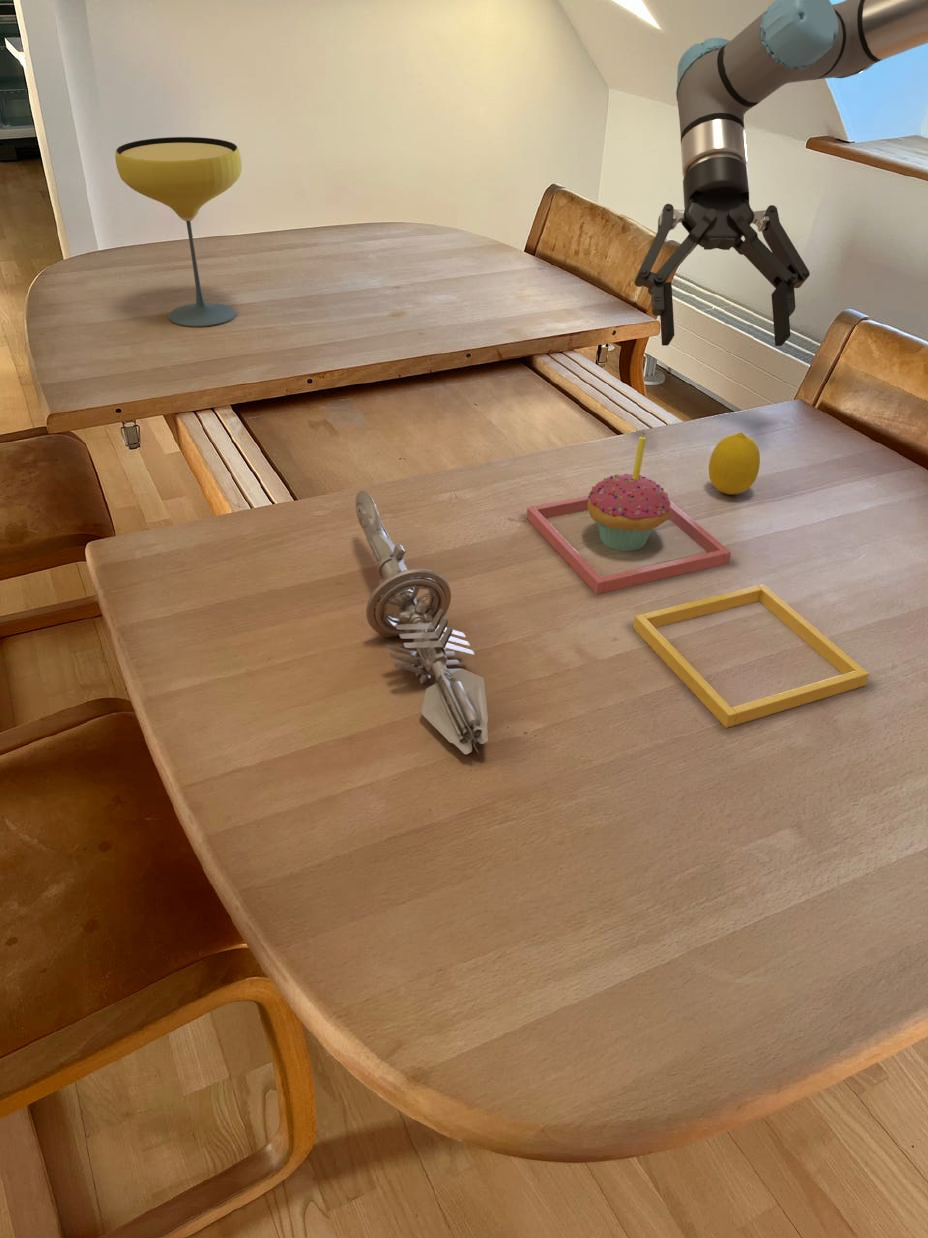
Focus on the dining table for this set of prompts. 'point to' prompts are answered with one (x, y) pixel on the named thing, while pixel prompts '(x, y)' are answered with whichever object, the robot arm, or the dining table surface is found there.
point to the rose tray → (634, 577)
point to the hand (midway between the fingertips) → (725, 340)
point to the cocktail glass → (183, 195)
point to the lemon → (734, 464)
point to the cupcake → (628, 507)
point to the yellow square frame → (768, 705)
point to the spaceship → (424, 635)
